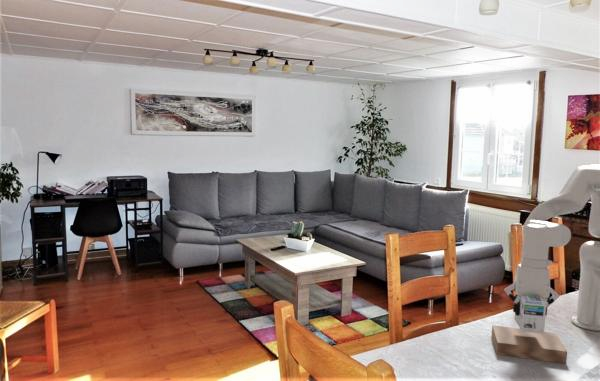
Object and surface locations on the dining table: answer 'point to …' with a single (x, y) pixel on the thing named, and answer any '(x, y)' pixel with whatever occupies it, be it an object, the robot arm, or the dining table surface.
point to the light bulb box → (531, 314)
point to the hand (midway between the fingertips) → (529, 315)
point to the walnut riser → (528, 344)
